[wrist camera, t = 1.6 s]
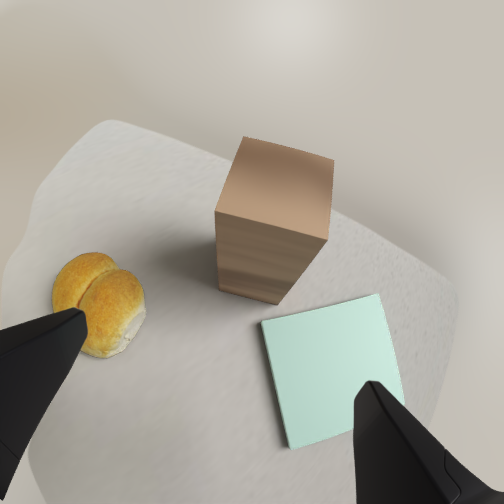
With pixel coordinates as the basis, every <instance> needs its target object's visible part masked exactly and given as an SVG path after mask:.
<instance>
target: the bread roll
mask: <svg viewBox="0 0 504 504" xmlns="http://www.w3.org/2000/svg"><path fill="white" fill-rule="evenodd" d="M52 305H53V311H54V313H56V312H59V311H62V310H66V309H69V308H72V307H76V308H78V309H81V310H83V311H84V312H85V314H86V321H87V327H88V335H87V338H86V340H85V342H84V344H83V346H82V348H81V351H82V352H85V353H86V354H89V355H91V356H94V357H98V358H109V357H111V356H114V355H116V354H118V353H120V352H122V351H123V350H124V349H125V348H126V347H127V345H128V344H129V343H130V342H131V340H132V339H133V338H134V337H135V335H136V333H137V331H138V330H139V328H140V326H141V324H142V323H143V321H144V319H145V316H146V307H145V301H144V292H143V288H142V286H141V284H140V283H139V281H138V280H137V278H136V277H135V276H134V275H133V274H131V273H130V272H128V271H126V270H121V269H119V268H118V266H117V265H116V263H115V262H114V261H113V260H112V258H110V257H109V256H107V255H105V254H103V253H86V254H82V255H80V256H78V257H76V258H74V259H73V260H71V261H70V262H69V263H67V264H66V265H65V266H64V267H63V269H62V270H61V271H60V273H59V274H58V276H57V277H56V280H55V282H54V286H53V291H52Z"/></svg>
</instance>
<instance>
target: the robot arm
mask: <svg viewBox="0 0 504 504" xmlns="http://www.w3.org/2000/svg"><path fill="white" fill-rule="evenodd" d="M87 335H88V327H87V321H86V314H85V312H84V311H83V310H81V309H78V308H76V307H72V308H69V309H66V310H62V311H59V312H56V313H53V314H50V315H47V316H43V317H40V318H37V319H34V320H31V321H28V322H25V323H21V324H18V325H15V326H12V327H9V328H6V329H3V330H0V499H1V500H3V499H4V498H5V495H6V492H7V490H8V487H9V485H10V483H11V480H12V478H13V476H14V473H15V471H16V469H17V467H18V464H19V462H20V460H21V458H22V455H23V453H24V451H25V449H26V447H27V445H28V443H29V441H30V439H31V437H32V435H33V434H34V432H35V430H36V428H37V426H38V424H39V422H40V421H41V419H42V417H43V415H44V413H45V412H46V410H47V408H48V406H49V405H50V403H51V401H52V399H53V398H54V396H55V394H56V393H57V391H58V389H59V388H60V386H61V385H62V383H63V381H64V380H65V378H66V377H67V375H68V373H69V371H70V369H71V368H72V366H73V364H74V362H75V360H76V358H77V356H78V354H79V352H80V350H81V348H82V346H83V344H84V342H85V340H86V338H87ZM353 446H354V460H355V476H356V502H357V504H504V492H499V491H496V490H493V489H491V488H490V487H489V486H487V485H486V484H485V483H484V482H482V481H481V480H480V479H479V478H477V477H476V476H475V475H474V474H472V473H471V472H470V471H469V470H468V469H466V468H465V467H464V466H463V465H462V464H461V463H460V462H459V461H458V460H457V459H455V458H454V456H452V455H451V453H450V452H449V451H448V450H447V449H445V448H444V446H443V445H442V444H441V443H440V442H439V441H438V440H437V439H436V438H435V437H434V436H433V435H432V434H431V433H430V432H429V431H428V430H427V429H426V428H425V427H424V426H423V425H422V424H421V423H420V422H419V421H418V420H417V419H416V418H415V417H414V416H413V415H412V414H411V413H410V412H409V411H408V410H407V409H406V408H405V407H404V406H403V405H402V404H401V403H400V402H399V401H398V400H397V399H396V398H395V397H394V396H393V395H392V394H391V393H390V392H389V391H388V390H387V389H386V388H385V387H384V386H383V385H382V384H381V383H380V382H379V381H372V380H368V381H366V382H365V383H364V385H363V386H362V388H361V389H360V391H359V392H358V393H357V395H356V396H355V399H354V425H353Z"/></svg>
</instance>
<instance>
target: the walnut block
mask: <svg viewBox="0 0 504 504" xmlns="http://www.w3.org/2000/svg"><path fill="white" fill-rule="evenodd" d="M333 171H334V160H332V159H328V158H325V157H322V156H319V155H315V154H312V153H308V152H305V151H301V150H297V149H294V148H290V147H286V146H282V145H278V144H274V143H270V142H266V141H262V140H257V139H252V138H248V137H243V139H242V141H241V144H240V146H239V149H238V151H237V154H236V156H235V159H234V161H233V164H232V166H231V169H230V171H229V174H228V176H227V179H226V182H225V184H224V187H223V189H222V192H221V195H220V197H219V200H218V203H217V206H216V208H215V232H216V251H217V268H218V284H219V291H223V292H227V293H231V294H235V295H239V296H242V297H246V298H250V299H254V300H258V301H262V302H267V303H271V304H275V305H278V304H279V303H280V301H281V300H282V299H283V298H284V296H285V295H286V294H287V293H288V291H289V290H290V289H291V288H292V286H293V285H294V284H295V282H296V281H297V280H298V279H299V277H300V276H301V275H302V273H303V272H304V271H305V270H306V268H307V267H308V266H309V264H310V263H311V262H312V260H313V259H314V258H315V256H316V255H317V254H318V252H319V251H320V250H321V248H322V247H323V246H324V244H325V243H326V242H327V240H328V233H329V223H330V212H331V200H332V187H333Z"/></svg>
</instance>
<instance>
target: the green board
mask: <svg viewBox="0 0 504 504" xmlns="http://www.w3.org/2000/svg"><path fill="white" fill-rule="evenodd" d="M261 327H262V331H263V336H264V341H265V345H266V350H267V354H268V359H269V363H270V368H271V372H272V376H273V381H274V385H275V390H276V394H277V399H278V403H279V408H280V412H281V416H282V421H283V425H284V429H285V434H286V438H287V443H288V447H289V448H290V450H293V449H296V448H300V447H303V446H306V445H310V444H313V443H316V442H319V441H322V440H325V439H328V438H330V437H333V436H336V435H339V434H341V433H344V432H346V431H349V430H351V429H353V425H354V399H355V396H356V395H357V393H358V392H359V391H360V389H361V388H362V386H363V385H364V383H365V382H366V381H368V380H372V381H379V382H380V383H381V384H382V385H383V386H384V387H385V388H386V389H387V390H388V391H389V392H390V393H391V394H392V395H393V396H394V397H395V398H396V399H397V400H398V401H399V402H400V403H401V404H402V405H405V401H404V396H403V390H402V385H401V380H400V375H399V370H398V366H397V361H396V357H395V352H394V348H393V344H392V340H391V336H390V332H389V329H388V325H387V321H386V318H385V314H384V311H383V307H382V304H381V301H380V297H379V294H378V293H377V294H374V295H370V296H367V297H363V298H359V299H356V300H352V301H348V302H344V303H340V304H336V305H332V306H328V307H324V308H320V309H316V310H311V311H307V312H303V313H298V314H294V315H289V316H284V317H279V318H275V319H270V320H265V321H261Z"/></svg>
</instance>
